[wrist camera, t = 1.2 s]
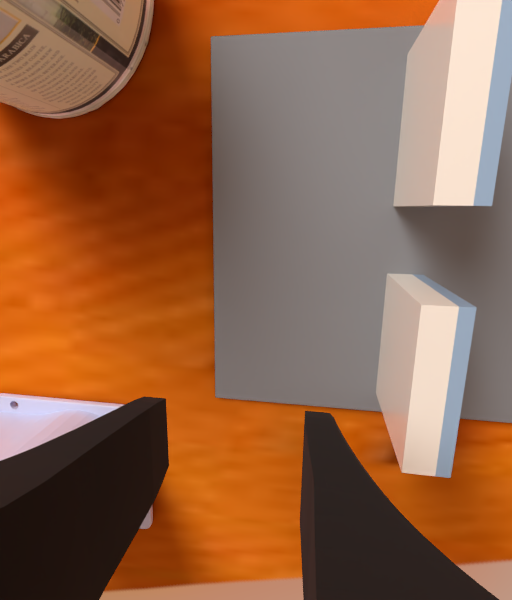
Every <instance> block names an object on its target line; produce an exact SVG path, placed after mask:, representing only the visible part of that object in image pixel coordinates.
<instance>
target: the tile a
mask: <svg viewBox="0 0 512 600" xmlns="http://www.w3.org/2000/svg"><path fill="white" fill-rule="evenodd" d="M476 308H477V307H475V306H473V305H472V304H470V303H468V302H467V301H465V300H464V299H462V298H460V297H459V296H457V295H455V294H454V293H452V292H451V291H449V290H447V289H446V288H444V287H442V286H441V285H439V284H438V283H436V282H434V281H433V280H431V279H429V278H428V277H426V276H425V275H414V274H387V279H386V290H385V300H384V311H383V322H382V332H381V343H380V354H379V364H378V375H377V386H376V395H377V398H378V401H379V404H380V407H381V410H382V413H383V417H384V420H385V423H386V426H387V429H388V432H389V435H390V438H391V441H392V444H393V447H394V451H395V454H396V457H397V460H398V463H399V466H400V469H401V472H402V473H409V474H418V475H428V476H437V477H446V478H451V473H452V466H453V459H454V453H455V446H456V440H457V433H458V426H459V420H460V413H461V407H462V400H463V394H464V387H465V380H466V374H467V367H468V361H469V354H470V347H471V341H472V334H473V328H474V321H475V315H476Z"/></svg>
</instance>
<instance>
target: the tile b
mask: <svg viewBox="0 0 512 600" xmlns="http://www.w3.org/2000/svg"><path fill="white" fill-rule="evenodd" d="M511 77H512V0H439V2H438V4H437V5H436V7H435V9H434V10H433V12H432V14H431V15H430V17H429V19H428V21H427V22H426V24H425V26H424V27H423V29H422V31H421V32H420V34H419V36H418V37H417V39H416V41H415V43H414V44H413V46H412V48H411V49H410V51H409V53H408V55H407V65H406V76H405V87H404V97H403V108H402V119H401V129H400V140H399V151H398V161H397V172H396V183H395V193H394V204H393V206H398V207H459V206H492V203H493V196H494V189H495V183H496V176H497V170H498V163H499V156H500V150H501V143H502V137H503V130H504V124H505V117H506V110H507V104H508V97H509V91H510V84H511Z"/></svg>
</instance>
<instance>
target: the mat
mask: <svg viewBox="0 0 512 600" xmlns="http://www.w3.org/2000/svg"><path fill="white" fill-rule="evenodd" d="M424 26H425V25H424ZM424 26H405V27H385V28H366V29H347V30H328V31H309V32H289V33H270V34H251V35H232V36H212V37H211V91H212V170H213V249H214V327H215V397H216V398H228V399H240V400H251V401H263V402H274V403H286V404H298V405H309V406H321V407H332V408H344V409H356V410H367V411H379V412H382V410H381V407H380V404H379V401H378V398H377V395H376V386H377V375H378V364H379V354H380V343H381V332H382V322H383V311H384V300H385V290H386V279H387V274H414V275H425V276H426V277H428V278H429V279H431V280H433V281H434V282H436V283H438V284H439V285H441V286H442V287H444V288H446V289H447V290H449V291H451V292H452V293H454V294H455V295H457V296H459V297H460V298H462V299H464V300H465V301H467V302H468V303H470V304H472V305H473V306H475V307H477V308H476V315H475V321H474V328H473V334H472V341H471V347H470V354H469V361H468V367H467V374H466V380H465V387H464V394H463V400H462V407H461V413H460V419H472V420H483V421H495V422H506V423H512V77H511V84H510V91H509V97H508V104H507V110H506V117H505V124H504V130H503V137H502V143H501V150H500V156H499V163H498V170H497V176H496V183H495V189H494V196H493V203H492V206H459V207H398V206H393V204H394V193H395V183H396V172H397V161H398V151H399V140H400V129H401V119H402V108H403V97H404V87H405V76H406V65H407V55H408V53H409V51H410V49H411V48H412V46H413V44H414V43H415V41H416V39H417V37H418V36H419V34H420V32H421V31H422V29H423V27H424Z"/></svg>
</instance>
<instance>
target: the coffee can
mask: <svg viewBox="0 0 512 600" xmlns="http://www.w3.org/2000/svg"><path fill="white" fill-rule="evenodd" d="M153 9H154V0H0V102H2V103H5V104H8V105H11V106H14V107H16V108H17V109H19V110H22V111H24V112H26V113H29V114H33V115H36V116H40V117H45V118H58V119H62V118H70V117H75V116H80V115H83V114H85V113H88V112H90V111H93V110H96V109H98V108H100V107H101V106H102V105H103V104H105V103H106V102H107V101H109V100H110V99H112V98H113V97H114V96H115V95H116V94H117V93H118V92H119V91H120V90H121V89H122V88H123V87H124V86H125V85H126V84H127V82H128V81H129V80H130V78H131V77H132V75H133V74H134V72H135V71H136V69H137V67H138V65H139V63H140V61H141V59H142V57H143V54H144V52H145V49H146V46H147V44H148V40H149V35H150V30H151V25H152V18H153Z"/></svg>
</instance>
